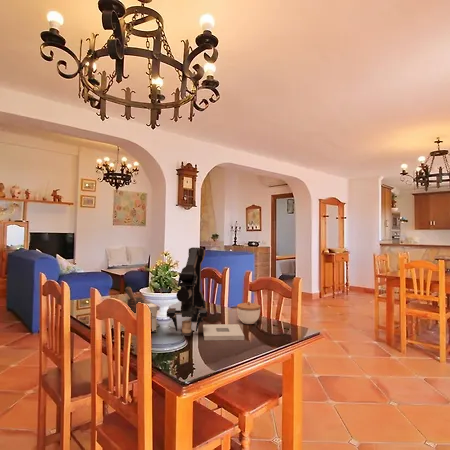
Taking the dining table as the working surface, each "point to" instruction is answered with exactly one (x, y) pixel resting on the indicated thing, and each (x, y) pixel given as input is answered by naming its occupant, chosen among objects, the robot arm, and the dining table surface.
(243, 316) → the lidded bowl
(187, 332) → the maple spool
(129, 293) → the mortar and pestle
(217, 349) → the dining table surface
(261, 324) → the dining table surface
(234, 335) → the socket block
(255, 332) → the dining table surface
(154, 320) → the supplement box
